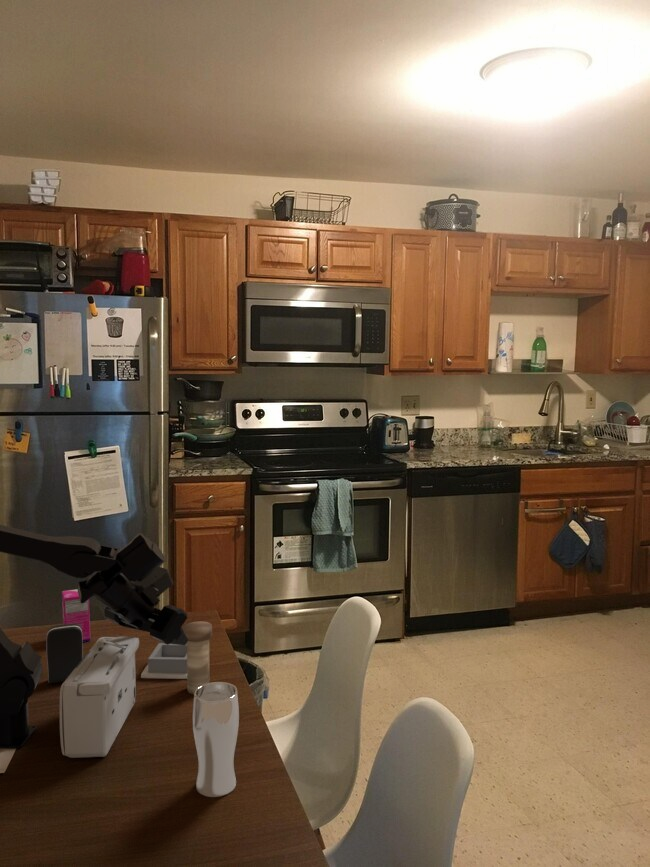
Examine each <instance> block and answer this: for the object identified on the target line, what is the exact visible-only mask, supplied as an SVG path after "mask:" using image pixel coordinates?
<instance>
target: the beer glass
mask: <svg viewBox="0 0 650 867" xmlns="http://www.w3.org/2000/svg"><path fill="white" fill-rule="evenodd" d="M238 696H239V695H238V688H237V687H236V685H234V684H232V683H230V682H226V681H214V682H213V681H211V682H210V683H207V684H204V685H201V686H199V687H198V688H197V689H196V690H195V691H194V694H193V705H192V706H193V707H192V732H193V738H194V742H195V748H196V754H197V759H198V769H197V770H198V771H197V772H198V773H197V778H196V783H195V784H196V786H195V789H196V790H197V793H199V794H200V795H201V796H204V797H207V798H220V797H223V796H226V795H228V794H230V793H232V792H233V791H234V790H235V788H236V786H237V785H236V784H237V779H236V774H235V766H234V760H235V758H234V757H235V752H236V751H235V750H236V747H237V746H236V745H237V740H238V739H237V738H238V735H239V724H240V723H239V721H240V710H239V709H240V708H239V698H238Z"/></svg>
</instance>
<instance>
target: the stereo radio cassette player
mask: <svg viewBox="0 0 650 867" xmlns="http://www.w3.org/2000/svg"><path fill="white" fill-rule="evenodd" d="M139 647H140V638H139V637H135V636H117V637H116V636H102V637H99V638H98V639H97V641H96V642H95V643H94V644H93V645H92V647H90V649H89V650H88V652H87V653H86V654H85V656H84V657H83V659H82V660H81V662H80V663H79V664H78V665H77V667H76V668H75V669H74V670H73V672H72V673H71V674H70V675H69V676H68V678H67V679H66V680H65V681H64V682H62V684H61V686H60V690H59V736H60V737H59V738H60V748H61V753H62V756H65V757H68V758H72V759H75V758H77V759H78V758H81V759H82V758H98V757H99V758H100V757H102V758H104V757H106V756H107V754H108V753H109V751H110V749H111V747H112V746H113V744H114V742H115V740H116V739H117V736H118V734H119V732H120V730H121V729H122V727H123V725H124V723H125V721H126V720H127V718H128V716H129V714H130V712H131V710H132V709H133V707H134V705H135V704H136V697H137V691H136V684H137V682H136V652H137V650H138V649H139Z"/></svg>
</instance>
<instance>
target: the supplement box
mask: <svg viewBox="0 0 650 867" xmlns="http://www.w3.org/2000/svg"><path fill="white" fill-rule="evenodd" d="M61 599H62V601H61V602H62V604H61V605H62V606H61V607H62V625H63V624H73V623H74V624H78V625H79V626H80V627H81V630H82V636H83V643H87V642H86V641H88V642H91V637H92V636H91V620H90V599H88V600H87V601H86V602H85V603H81V602H80V599H79V595H78V588H77V589H69V590H63V591H61Z"/></svg>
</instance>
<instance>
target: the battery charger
mask: <svg viewBox="0 0 650 867" xmlns="http://www.w3.org/2000/svg"><path fill="white" fill-rule="evenodd" d="M45 647H46V649H45V650H46V662H47V683H48V684H50V685H51V684H59V683H60V684H61V683H64V681H65V680H66V679H67V678H68V676H69V675H70V674H71V673H72V672H73V670H74V669H75V668H76V667H77V665H78V664H79V663H80V662H81V660H82V659H83V658H84V657H83V656H84V652H83V651H84V642H83V636H82V630H81V627H80V626H79V625H78V624H74V623H73V624H63V623H62V624H58V625H57V624H56V625H53V626H51V627H49V629H48V630H47V633H46V645H45Z"/></svg>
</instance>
